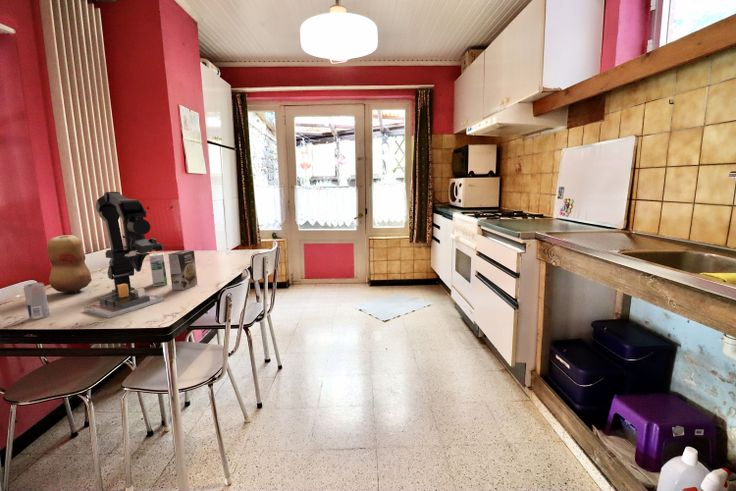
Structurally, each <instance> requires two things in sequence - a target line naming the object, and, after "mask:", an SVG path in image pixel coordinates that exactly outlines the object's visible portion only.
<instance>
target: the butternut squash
mask: <svg viewBox="0 0 736 491" xmlns="http://www.w3.org/2000/svg"><path fill="white" fill-rule="evenodd" d="M46 247H47V256H48V259H49V262H50V264H51V270H50V275H49V279H48V281H49V285H50V286H51V288H53V290H55V291H56V292H59V293H60V292H61V293H67V294H72V293H78V292H79V291H81V290H82V289H85V288H87V287H88V286H89V284H90V283H91V282H92V280H93V279H92V275H91V272H90V269H89V268H88V266H87V264H86V262H85V261H86V255H85V253H84V249H83V243H82V240H81V239H80V238H79V237H77V236H76V235H73V234H67V235H66V234H65V235H64V234H63V235H59V236H55V237H52V238H51V239H49V240H48V242H47V244H46Z"/></svg>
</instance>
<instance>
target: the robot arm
mask: <svg viewBox="0 0 736 491" xmlns="http://www.w3.org/2000/svg"><path fill="white" fill-rule="evenodd" d="M95 210H96V212H97V213H98V215H99V216H98V217H99V218H101V219H102V220H103V221H104V222H105V223H104V224H105V226H106V227H105V228H106V232H107V236H108V242H109V246H110V249H106V251H105V258H107V259H109V261H108V264H109V265H108V267H107V268H108V269H107V278H108V279H109V280H110V281H111V280H113V283H114V289H111V292H113V293H118V287H117V285H120V284H128V290H129V291H132V290H136V289H135V287H132V286H131V285H132V284H131V278H130V276H131V277H132V276H135V271H136V272H137V273H139V272H141V271H142V267H143V262H144V260H145V258H146V257H147V256H148V255H149V256H150V253H151V252H153V251H155V252H157V251H158V252H159V251H163V250H164V245H163V244H162V243H160V242H157V239H156V238H149V239H146V236H145V235H146V234H148V233H149V232H150V230H151V224H150V222H149V221H148V220H146V219H144V218H147V211H146V210H145V207H144V206H143V204H142V202H140V200H139V199H135V198H133V199H132V198H127V197H126V196H124V195H123V194H121V192H119V191H106V192H104V193H103V195H102V196H101V197H99V198H98V199H96V202H95ZM120 218H121V221H122V227H123V234H124V235H122V232H121V228H120V222H119V219H120ZM123 239H124V242H125V245H124V242H123Z"/></svg>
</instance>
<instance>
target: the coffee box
mask: <svg viewBox="0 0 736 491" xmlns="http://www.w3.org/2000/svg"><path fill="white" fill-rule="evenodd" d="M195 256H196V255H195V250H179V251H176V252H172V253H168V263H169V273H170V280H171V289H172V290H176V291H185V290H188V289H190V288H192V287H195V286H198V284H199V283H198V275H197V267H196V266H197V265H196V257H195Z"/></svg>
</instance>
